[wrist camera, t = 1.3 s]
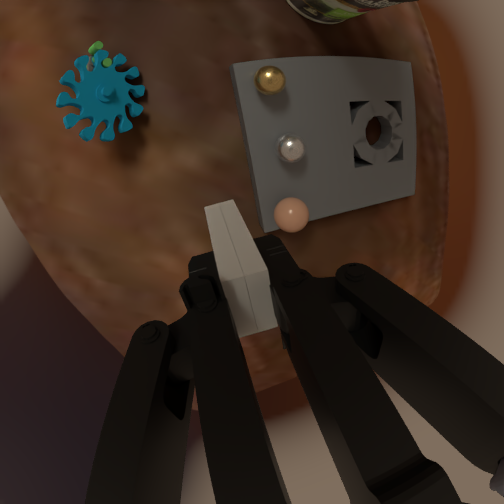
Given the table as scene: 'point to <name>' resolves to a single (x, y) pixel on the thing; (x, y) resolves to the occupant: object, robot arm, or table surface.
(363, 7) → the coffee can
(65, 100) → the gear
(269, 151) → the plate
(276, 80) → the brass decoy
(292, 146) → the steel ball
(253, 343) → the table surface
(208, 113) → the table surface
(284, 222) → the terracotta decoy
